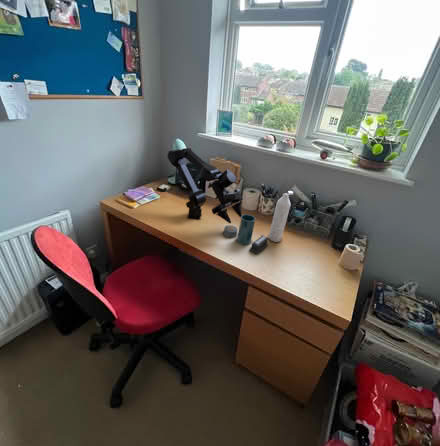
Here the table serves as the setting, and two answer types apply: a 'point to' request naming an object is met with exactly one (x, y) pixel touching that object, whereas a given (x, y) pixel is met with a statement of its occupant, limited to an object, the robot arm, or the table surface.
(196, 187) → the robot arm
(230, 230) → the tape roll
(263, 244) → the stapler
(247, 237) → the pen pot
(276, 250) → the table surface
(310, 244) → the table surface
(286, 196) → the water bottle
